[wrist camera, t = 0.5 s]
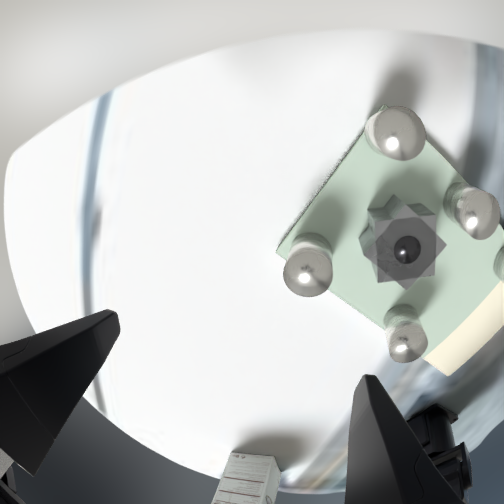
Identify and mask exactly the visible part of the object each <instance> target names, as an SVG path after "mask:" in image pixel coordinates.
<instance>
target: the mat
mask: <svg viewBox="0 0 504 504" xmlns="http://www.w3.org/2000/svg"><path fill="white" fill-rule="evenodd" d="M387 108H389V107H387V106H386V105H383V106H382V107H381V108H380V109H379V111H378V112H380V111H382V110H385V109H387ZM378 112H377V113H378ZM456 182H464V183H467V182H466V181H465V180H464V179H463V178H462V176H461V175H460V174H459V173H458V172H457V171H456V170H455V169H454V168H453V167H452V165H451V164H450V163H449V162H448V161H447V160H446V159H445V158H444V157H443V156H442V155H441V154H440V153H439V152H438V151H437V150H436V149H435V148H434V147H433V146H432V145H431V144H430V143H429V142H428V141H427V140H426V141H425V146H424V148H423V150H422V151H421V153H420V154H419V155H418V156H417V157H415V158H413V159H411V160H408V161H398V160H395V159H392V158H388V157H385V156H382V155H379V154H377V153H376V152H374V151H373V150H372V149H371V148H370V147H369V145H368V143H367V141H366V139H365V134H364V132H363V133H362V135H361V136H360V137H359V139H358V140H357V142H356V143H355V144H354V146H353V147H352V148H351V150H350V151H349V153H348V154H347V155H346V157H345V158H344V159H343V161H342V162H341V164H340V165H339V166H338V168H337V169H336V170H335V172H334V173H333V175H332V176H331V177H330V179H329V180H328V181H327V183H326V184H325V185H324V187H323V188H322V189H321V191H320V192H319V193H318V195H317V196H316V198H315V199H314V200H313V202H312V203H311V204H310V206H309V207H308V208H307V210H306V211H305V212H304V214H303V215H302V216H301V218H300V219H299V220H298V222H297V223H296V224H295V226H294V227H293V228H292V230H291V231H290V232H289V234H288V235H287V236H286V238H285V239H284V240H283V242H282V243H281V244H280V246H279V247H278V248H277V250H276V253H277V254H278V255H279V256H281V257H282V258H284V259H285V260H287V257H288V254H289V251H290V247H291V244H292V242H293V241H294V239H295V238H296V237H298V236H299V235H301V234H303V233H307V232H314V233H318V234H320V235H322V236H324V237H325V238H326V239H327V240H328V242H329V243H330V245H331V249H332V264H333V280H332V283H331V285H330V286H329V288H328V290H329V291H331V292H332V293H333V294H335V295H336V296H338V297H339V298H340V299H342V300H343V301H345V302H346V303H347V304H349V305H350V306H352V307H353V308H354V309H356V310H357V311H359V312H360V313H361V314H363V315H364V316H366V317H367V318H368V319H370V320H371V321H372V322H374V323H375V324H377V325H378V326H379V327H381V328H382V329H384V325H383V319H384V316H385V314H386V313H387V312H388V310H390V309H391V308H392V307H394V306H396V305H399V304H409V305H411V306H413V307H414V308H415V310H416V312H417V314H418V316H419V319H420V321H421V324H422V326H423V329H424V331H425V334H426V336H427V339H428V346H427V349H426V351H425V352H424V353H423V355H422V356H421V357H422V358H423V359H425V360H426V361H427V362H429V363H430V364H431V365H433V366H434V367H436V368H437V369H438V370H440V371H441V372H442V373H444V374H445V375H446V376H450V375H451V374H452V373H453V372H455V371H456V370H457V369H458V368H459V367H461V366H462V365H463V364H464V363H465V362H466V361H467V360H469V359H470V358H471V357H472V356H473V355H474V354H475V353H476V352H477V351H478V350H479V349H481V348H482V347H483V346H484V345H485V344H486V343H487V342H488V341H489V340H490V339H491V338H492V337H493V336H494V335H495V334H496V333H497V332H498V331H499V330H500V328H501V327H502V326H503V325H504V284H503V282H502V281H501V280H500V279H499V278H498V277H497V276H496V275H495V273H494V270H493V263H494V259H495V256H496V254H497V253H498V251H499V250H500V249H501V248H502V247H503V246H504V230H503V228H502V227H501V225H500V224H498V227H497V229H496V230H495V232H494V233H493V234H492V235H491V236H490V237H489V238H487V239H485V240H476V239H474V238H472V237H471V236H470V235H469V234H467V233H466V232H465V231H464V230H462V229H461V228H460V227H459V226H457V225H456V224H455V223H454V222H452V221H451V220H450V219H449V218H448V217H447V216H446V214H445V212H444V209H443V198H444V194H445V192H446V190H447V189H448V188H449V186H451V185H452V184H454V183H456ZM467 184H468V183H467ZM393 194H394V195H395V196H397V197H398V198H399V199H400V200H401V201H403V202H404V203H405V204H406V205H407V204H417V203H421V204H423V205H424V206H425V207H427V208H428V209H429V210H431V211H432V212H433V213H434V214H436V234H437V235H438V236H439V237H440V238H441V239H442V240H443V241H444V242H445V243H446V244H447V246H446V247H445V248H444V249H443V251H442V252H441V253H440V254H439V255H438V256H437V258H436V262H435V275H434V276H427V277H420V278H418V279H417V280H416V281H415V282H414V283H413V284H412V286H411V287H410V288H409V289H408V290H405V289H404V288H403V287H402V286H401V285H399V284H398V283H397V282H396V281H390V282H382V283H377V279H376V276H375V273H374V270H373V267H372V264H371V261H370V260H369V259H368V258H366V257H365V256H364V255H363V252H362V249H361V246H360V243H359V239H358V238H359V237H360V235H361V234H362V233H363V232H364V231H365V229H366V228H367V227H368V226H369V225H368V214H367V209H371V208H380V207H384V206H385V204H386V203H387V202H388V200H389V199H390V198H391V197H392V195H393ZM384 330H385V329H384Z"/></svg>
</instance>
